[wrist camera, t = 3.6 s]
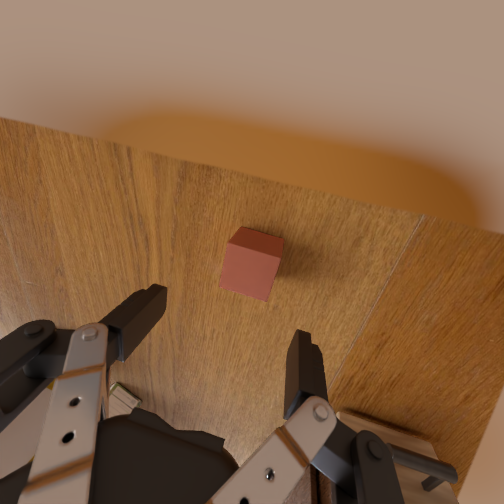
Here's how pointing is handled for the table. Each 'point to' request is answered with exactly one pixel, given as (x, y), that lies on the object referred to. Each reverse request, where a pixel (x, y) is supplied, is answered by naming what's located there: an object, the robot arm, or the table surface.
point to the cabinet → (305, 489)
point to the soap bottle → (23, 434)
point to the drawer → (404, 466)
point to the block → (251, 263)
